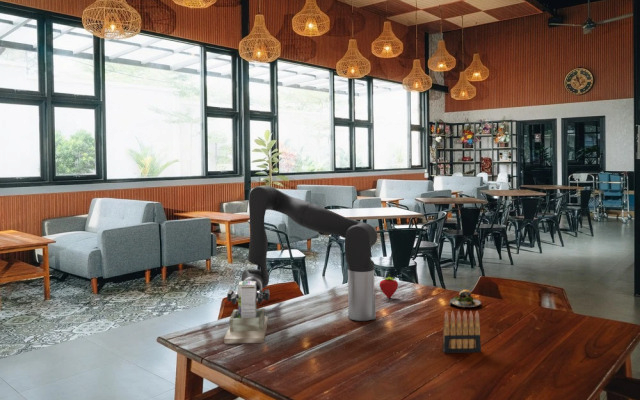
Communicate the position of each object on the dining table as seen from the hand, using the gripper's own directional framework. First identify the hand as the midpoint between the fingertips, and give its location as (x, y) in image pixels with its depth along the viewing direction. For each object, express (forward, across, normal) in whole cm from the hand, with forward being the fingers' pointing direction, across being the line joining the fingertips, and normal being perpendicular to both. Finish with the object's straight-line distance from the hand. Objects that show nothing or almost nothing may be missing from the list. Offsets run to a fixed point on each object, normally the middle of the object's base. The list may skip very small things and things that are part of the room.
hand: (246, 300), depth 170 cm
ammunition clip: (+22, +64, +11) cm, 69 cm away
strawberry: (-38, +53, +11) cm, 66 cm away
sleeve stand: (-1, 0, +10) cm, 11 cm away
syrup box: (-2, 0, +9) cm, 9 cm away
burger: (-25, +80, +11) cm, 85 cm away
